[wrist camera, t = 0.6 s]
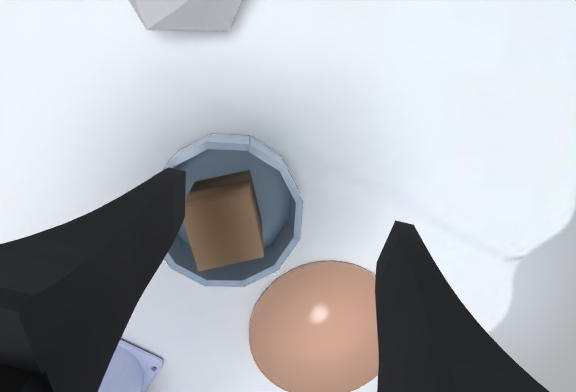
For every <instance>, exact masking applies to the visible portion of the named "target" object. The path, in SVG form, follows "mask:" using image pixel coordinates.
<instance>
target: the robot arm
mask: <svg viewBox="0 0 576 392" xmlns="http://www.w3.org/2000/svg"><path fill="white" fill-rule="evenodd" d="M185 192H186V171H183V170H179V169H174V168H170V167H168V168H166V169H165V170H163V171H161V172H160V173H158V174H156V175H155V176H153V177H152V178H150V179H148V180H147V181H145V182H144V183H142V184H141V185H139V186H137V187H136V188H134V189H132V190H131V191H129V192H127V193H126V194H124V195H122V196H121V197H119V198H117V199H115V200H113V201H111V202H109V203H108V204H106V205H104V206H102V207H100V208H98V209H96V210H94V211H92V212H90V213H88V214H86V215H84V216H81V217H79V218H77V219H74V220H72V221H70V222H67V223H65V224H62V225H59V226H57V227H54V228H51V229H48V230H45V231H43V232H40V233H37V234H34V235H31V236H28V237H24V238H21V239H18V240H14V241H11V242H7V243H3V244H0V392H145V391H146V389H147V388H148V386H149V385H150V383H151V382H152V380H153V379H154V377H155V376H156V374H157V373H158V371H159V370H160V368H161V367H162V365H163V360H162V359H161V358H159V357H157V356H155V355H152V354H150V353H148V352H146V351H144V350H142V349H140V348H137V347H135V346H133V345H131V344H129V343H127V342H125V341H123V340H120V339H121V337H122V334H123V332H124V330H125V328H126V326H127V324H128V321H129V319H130V317H131V315H132V313H133V311H134V309H135V307H136V305H137V303H138V301H139V299H140V297H141V295H142V294H143V292H144V290H145V289H146V287H147V285H148V284H149V282H150V280H151V279H152V277H153V276H154V274H155V272H156V271H157V269H158V267H159V266H160V264H161V263H162V261H163V259H164V258H165V256H166V254H167V253H168V251H169V249H170V248H171V246H172V244H173V243H174V241H175V239H176V236H177V234H178V232H179V230H180V227H181V225H182V223H183V220H184V218H185ZM375 302H376V318H377V334H378V351H379V367H378V390H377V392H549V391H548V390H547V389H545V388H544V387H543V386H542V385H541V384H539V383H538V382H537V381H536V380H534V378H532V377H531V376H530V375H529V374H528V373H527V372H526V371H525V370H524V369H523V368H521V367H520V366H519V365H518V364H517V363H516V362H515V361H514V360H513V359H512V358H511V357H510V356H509V355H508V354H507V353H506V352H505V351H503V349H502V348H501V347H500V346H499V345H498V344H497V343H496V342H495V341H494V340H493V339H492V338H491V337H490V336H489V334H488V333H487V332H486V331H485V330H484V329H483V328H482V327H481V326H480V324H479V323H478V322H477V321H476V320H475V318H474V317H473V316H472V315H471V313H470V312H469V311H468V310H467V309H466V307H465V306H464V305H463V303H462V302H461V301H460V299H459V298H458V297H457V295H456V294H455V292H454V291H453V290H452V288H451V287H450V285H449V284H448V282H447V281H446V279H445V278H444V276H443V275H442V273H441V272H440V270H439V268H438V267H437V265H436V263H435V262H434V260H433V258H432V257H431V255H430V253H429V251H428V250H427V248H426V246H425V244H424V243H423V241H422V239H421V237H420V235H419V234H418V232H417V230H416V228H415V227H414V225H412V224H408V223H404V222H399V221H395V223H394V225H393V227H392V229H391V232H390V234H389V236H388V238H387V241H386V243H385V245H384V247H383V250H382V252H381V254H380V256H379V259H378V261H377V266H376V278H375ZM153 366H155V367H156V368H153Z"/></svg>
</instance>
